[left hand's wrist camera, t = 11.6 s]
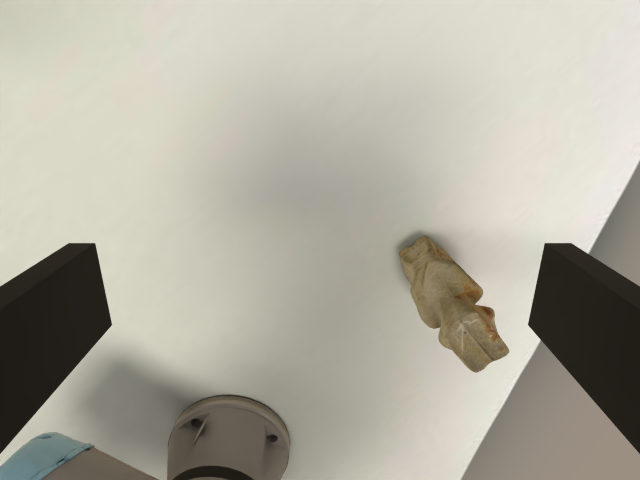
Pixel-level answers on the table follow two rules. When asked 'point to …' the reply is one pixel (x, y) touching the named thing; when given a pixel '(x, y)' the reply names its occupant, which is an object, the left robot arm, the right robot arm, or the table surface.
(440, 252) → the sculpture
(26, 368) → the left robot arm
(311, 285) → the table surface
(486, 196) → the table surface
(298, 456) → the table surface
